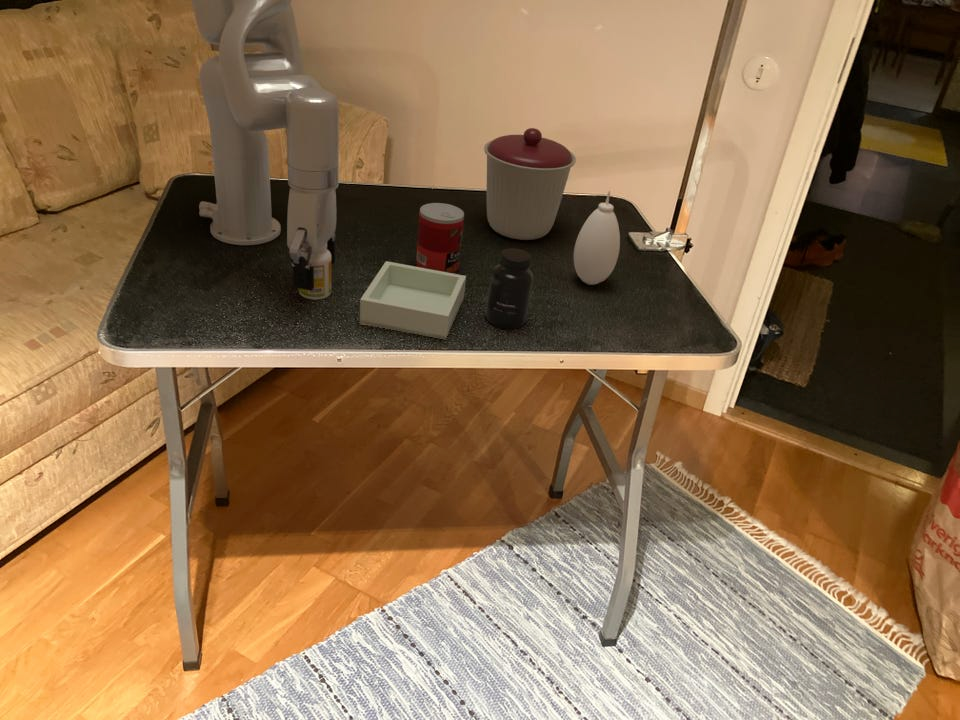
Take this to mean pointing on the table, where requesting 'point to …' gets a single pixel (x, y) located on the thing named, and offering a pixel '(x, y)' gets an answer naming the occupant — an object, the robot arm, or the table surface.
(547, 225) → the canister
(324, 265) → the supplement bottle
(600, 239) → the air blower bulb
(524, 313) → the supplement bottle
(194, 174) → the table surface
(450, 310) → the bin
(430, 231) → the canned food
